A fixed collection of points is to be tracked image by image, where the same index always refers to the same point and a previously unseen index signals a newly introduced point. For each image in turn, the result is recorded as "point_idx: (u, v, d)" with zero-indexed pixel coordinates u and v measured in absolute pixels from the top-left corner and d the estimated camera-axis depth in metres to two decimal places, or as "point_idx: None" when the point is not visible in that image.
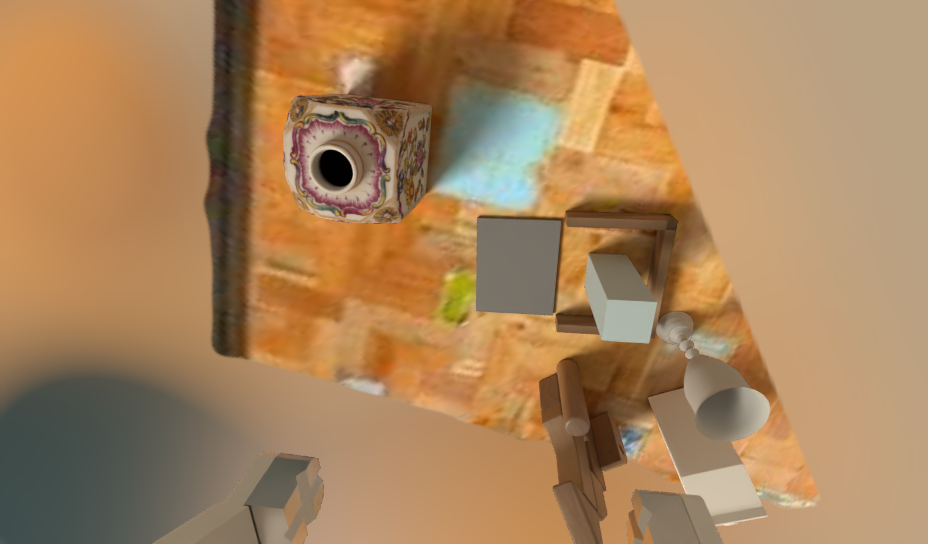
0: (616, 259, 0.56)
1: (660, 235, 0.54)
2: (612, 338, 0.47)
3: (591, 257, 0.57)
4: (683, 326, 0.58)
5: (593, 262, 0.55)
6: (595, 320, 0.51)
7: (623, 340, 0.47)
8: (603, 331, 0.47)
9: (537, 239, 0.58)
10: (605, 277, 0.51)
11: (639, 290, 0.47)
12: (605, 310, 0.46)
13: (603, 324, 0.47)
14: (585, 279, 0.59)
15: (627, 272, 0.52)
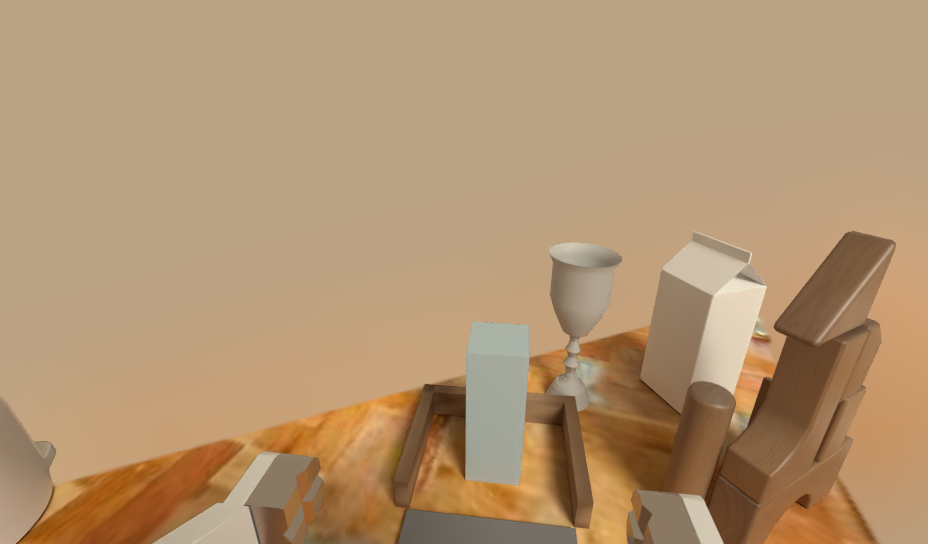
0: None
1: (444, 402, 0.47)
2: (524, 348, 0.35)
3: None
4: (556, 379, 0.50)
5: None
6: (525, 400, 0.36)
7: (526, 341, 0.36)
8: (515, 356, 0.34)
9: None
10: None
11: None
12: (484, 356, 0.34)
13: (506, 358, 0.34)
14: (505, 481, 0.39)
15: None
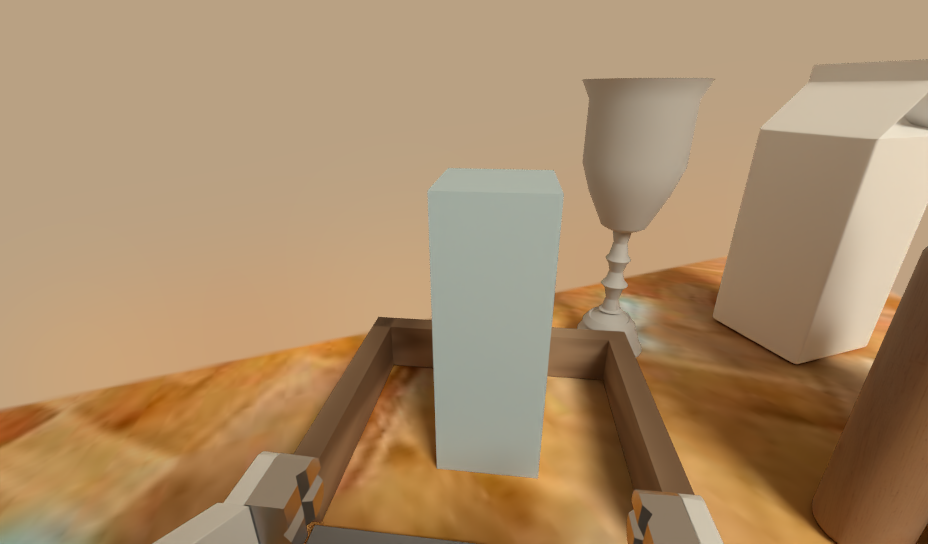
0: None
1: (408, 345, 0.29)
2: (550, 187, 0.17)
3: None
4: (589, 313, 0.32)
5: None
6: (551, 300, 0.17)
7: (554, 181, 0.18)
8: (532, 194, 0.16)
9: None
10: None
11: None
12: (465, 199, 0.16)
13: (512, 200, 0.16)
14: (511, 470, 0.21)
15: None
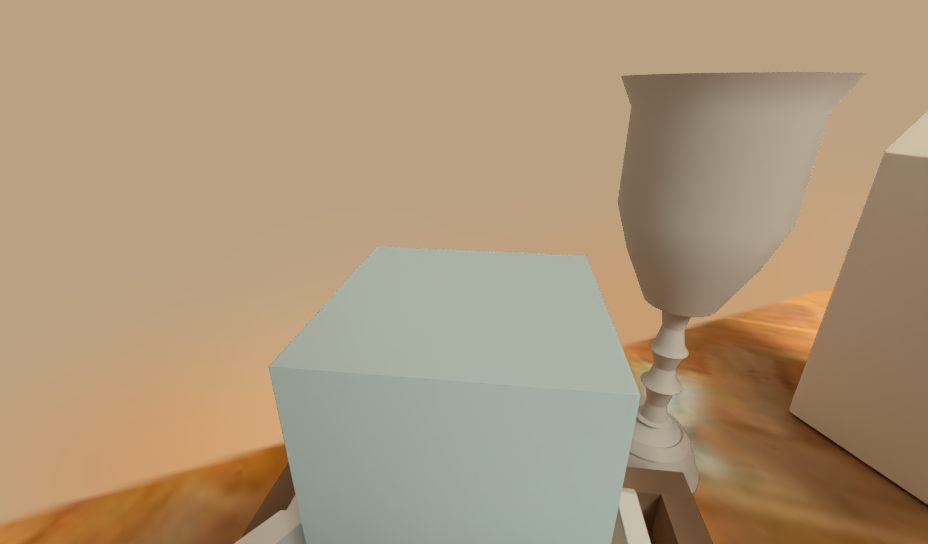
0: None
1: None
2: (595, 345, 0.07)
3: None
4: None
5: None
6: None
7: (597, 309, 0.08)
8: (551, 389, 0.06)
9: None
10: None
11: None
12: (370, 391, 0.06)
13: (495, 401, 0.06)
14: None
15: None
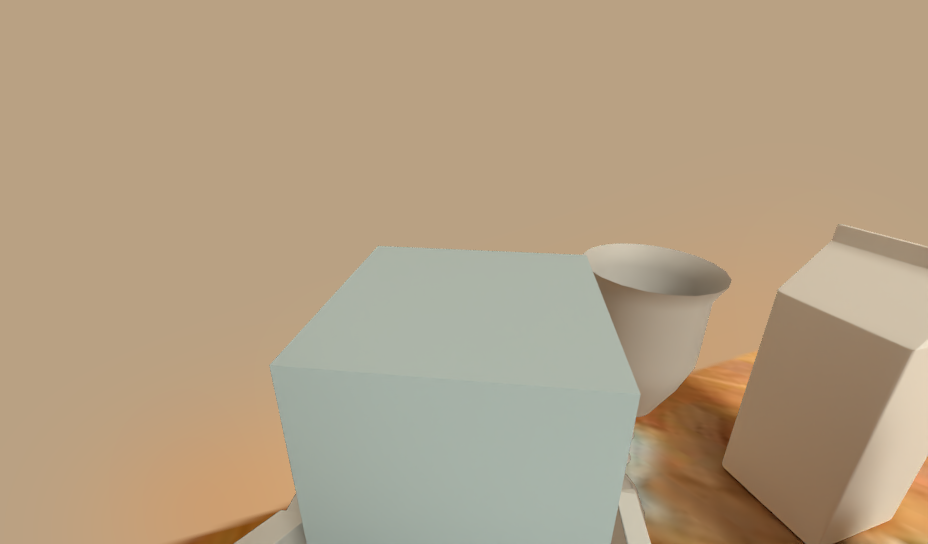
0: None
1: None
2: (595, 343, 0.07)
3: None
4: None
5: None
6: None
7: (597, 308, 0.08)
8: (552, 388, 0.06)
9: None
10: None
11: None
12: (371, 389, 0.06)
13: (495, 400, 0.06)
14: None
15: None
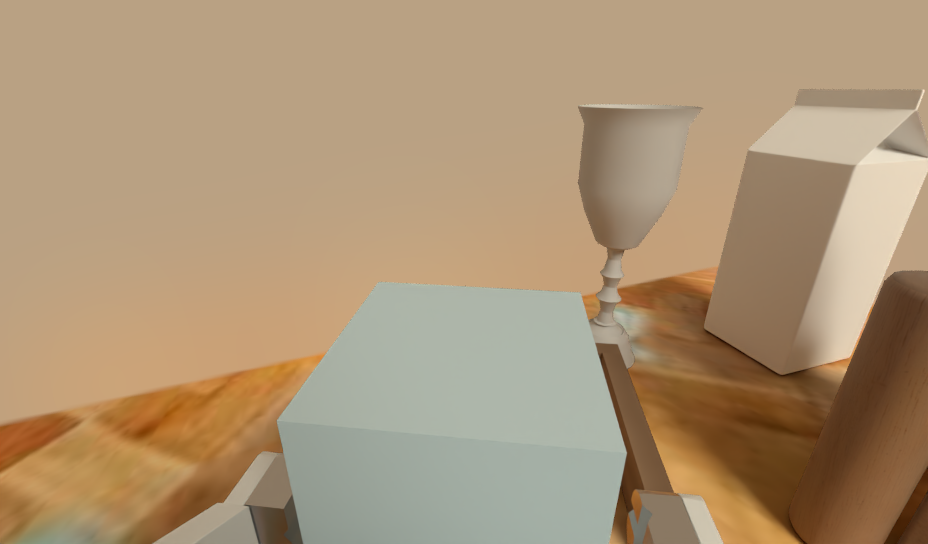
0: None
1: None
2: (585, 395, 0.07)
3: None
4: None
5: None
6: None
7: (589, 355, 0.08)
8: (543, 445, 0.06)
9: None
10: None
11: None
12: (373, 444, 0.06)
13: (490, 456, 0.06)
14: None
15: None
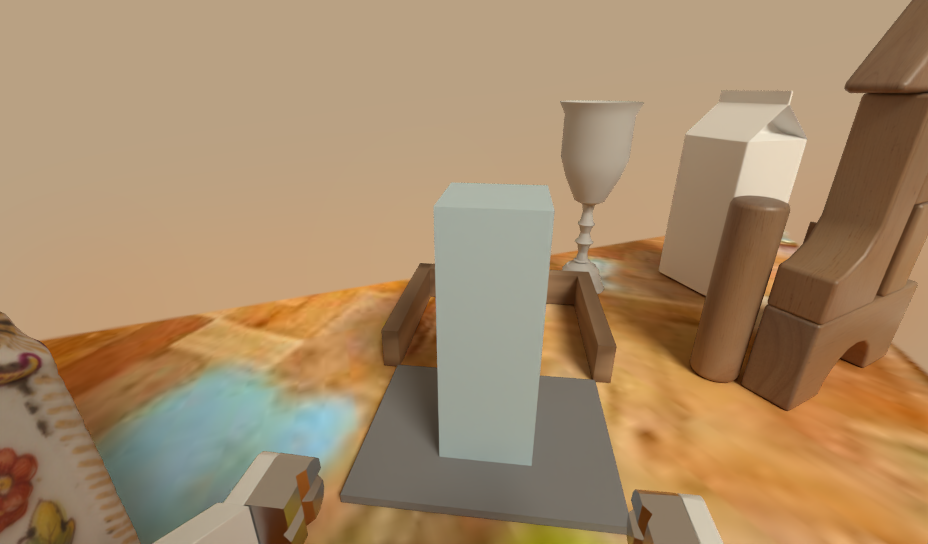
0: None
1: None
2: (543, 203, 0.19)
3: None
4: (567, 263, 0.45)
5: None
6: (544, 304, 0.19)
7: (547, 197, 0.20)
8: (527, 211, 0.18)
9: (425, 393, 0.29)
10: None
11: None
12: (467, 214, 0.18)
13: (509, 216, 0.18)
14: (508, 459, 0.23)
15: None
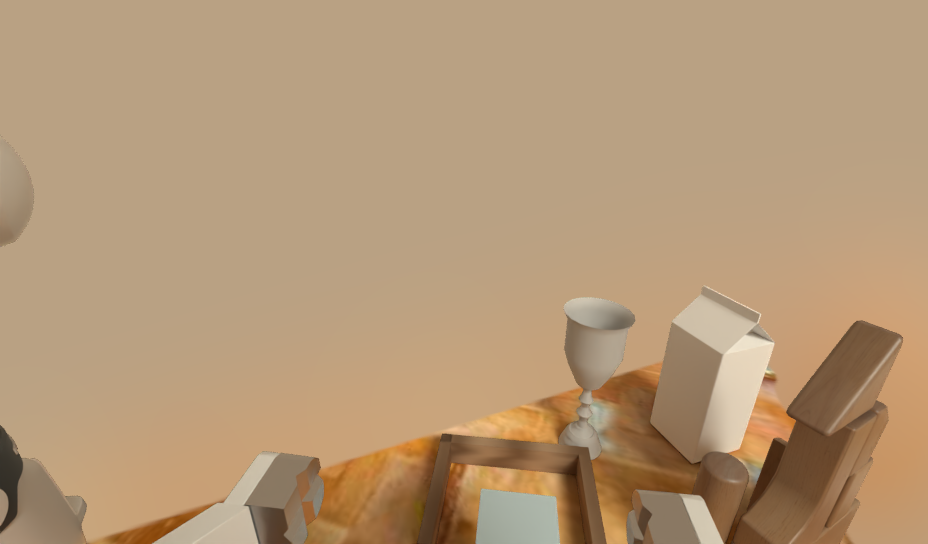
0: None
1: (461, 452, 0.49)
2: None
3: None
4: (569, 427, 0.52)
5: None
6: None
7: (556, 534, 0.26)
8: None
9: None
10: None
11: None
12: None
13: None
14: None
15: None
